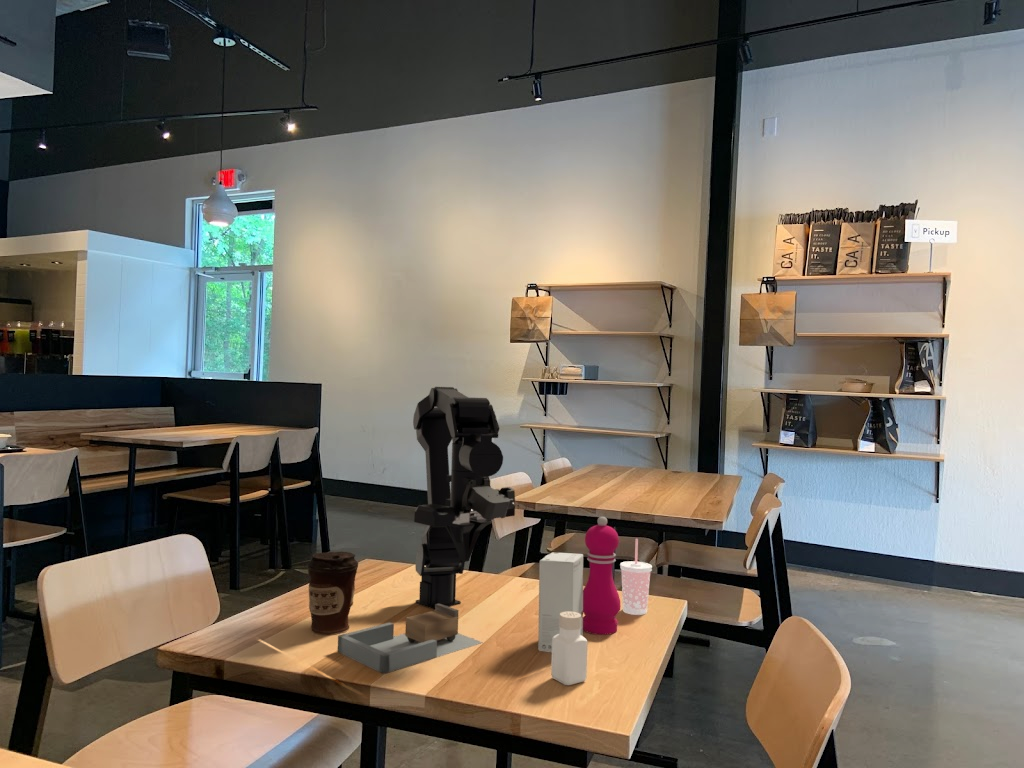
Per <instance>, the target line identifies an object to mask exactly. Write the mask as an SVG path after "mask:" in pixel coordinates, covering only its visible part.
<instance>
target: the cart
mask: <svg viewBox="0 0 1024 768" xmlns="http://www.w3.org/2000/svg"><path fill="white" fill-rule="evenodd" d="M404 632H405V636H406V637H407V639H408V641H409V642H415V641H419V642H421V643H422V642H425V641H429V640H432V639H433V640H436V641H437V640H440V639H444V638H447V640H449V641H453V640H454V639H455V637H456V635H457V634H458V633H459V609H456V608H453V607H452V606H450V607H448V606H445V605H442V604H435V610H434V609H433V610H430V611H428V612H427V611H426V612H423V613H419V614H415V615H412V616H407V617H405V631H404Z"/></svg>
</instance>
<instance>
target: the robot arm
mask: <svg viewBox="0 0 1024 768" xmlns="http://www.w3.org/2000/svg"><path fill="white" fill-rule="evenodd" d="M495 412H496V411H495V410H494V407H493V405H492V404H491V402H490V400H489V398H487V397H469V396H467V395H466V394H464V393H461V392H459V390H458V388H454V387H453V386H434V387H431V388H430V391H429V393H428V395H426V397H424V398H422V399H421V400H420V401H419V402H417V404H416V407H415V411H414V414H413V421H412V423H413V429H414V430H415V432H416V434H415V435H416V441H418V443H419V444H420V446H421V447H422V449H423V450H424V452H425V467H426V468H425V470H426V489H427V490H426V491H427V504H422V505H421V504H419V505H418V506H417V507H416V508H415V510H414V523H417V524H421V525H425V526H426V528H425V530H424V532H423V534H422V535H421V543H420V545H419V547H418V550H417V553H416V557H415V561H414V563H415V564H414V566H415V571H416V573H417V575H419V576H420V577H421V581H419V599H416V600H415V604H418V605H421V606H423V607H426V608H428V609H429V608H430V609H431V610H433V611H434V610H435V604H442V605H445V606H448V607H455V606H457V605H461V603H462V602H461V600H458V599H456V591H457V588H456V587H457V574H460V575H463V573H464V569H465V564H466V563H467V562H469V561H470V559H471V557H472V554H473V551H474V548H475V546H476V543H477V540H478V538H479V535H480V533H481V531H482V530H483V529H484V528H485V527H486V526H488V525H490V524H492V523H493V521H494V519H505V518H509V517H515V515H516V513H515V512H516V511H515V510H516V505H515V503H516V502H515V501H516V493H515V489H514V488H512V487H511V486H504V487H501V488H500V489H499V488H492V487H491V486H492V485H491V479H490V477H492V476H494V475H496V474H497V473H499V471H500V469H501V468H502V466H503V463H504V462H503V461H504V455H503V453H502V449H501V448H500V446H498V444H497V443H494V442H493V439H498V438H499V431H500V425H499V422H498V420H497V415H496V413H495ZM451 442H452V443H451ZM450 444H451V470H450V464H449V462H450V461H449V446H450Z"/></svg>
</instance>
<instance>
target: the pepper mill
mask: <svg viewBox="0 0 1024 768" xmlns="http://www.w3.org/2000/svg"><path fill="white" fill-rule="evenodd" d="M596 521H597V524H596V525H593V526H590V528H589V529H588V530H587V531H586V534H585V536H584V543H585V546H586V548H587V549H588V550H589V551H588V552H587V553H586V555H587V558H586V559H587V561H588V562H589V575H588V578H587V581H586V584H585V586H584V587H583V632H587V633H589V634H593V635H599V636H600V635H601V636H602V635H603V636H604V635H605V636H606V635H612V634H614V633H617V631H618V619H617V618H615V617H616V616H617V615H618V614H619V612H620V611H621V608H622V607H621V598H620V594H619V592H618V589H617V587H616V584H615V581H614V579H613V578H614V577H613V567H614V566H613V565H614V563H615V562H616V561H617V560H616V556H617V554H616V553H615V550H616V549H617V548H618V546H619V544H620V543H619V541H620V538H619V535H618V532H617V531H616V529H615V528H614V527H612V526H609V525H607V524H608V519H607V517H605V516H599V517H598V518H597V520H596Z"/></svg>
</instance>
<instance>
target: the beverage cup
mask: <svg viewBox="0 0 1024 768" xmlns="http://www.w3.org/2000/svg"><path fill="white" fill-rule="evenodd" d="M634 544H635V547H634V548H635V549H634V550H635V551H634V560H633V561H632V560H631V561H629V560H627V561H623V562H620V564H619V566H620V568H619V569H620V570H621V594H622V595H621V596H622V599H621V600H622V611H623V612H624V613H625V614H629V615H632V616H634V615H636V616H640V615H641V616H642V615H645V614H647V613H648V603H649V591H650V580H651V572H652V571H653V569H652V568H653V565H652V564H650V563H648V562H644V561H638V556H639V555H638V553H639V552H638V551H639V538H635V543H634Z"/></svg>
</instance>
